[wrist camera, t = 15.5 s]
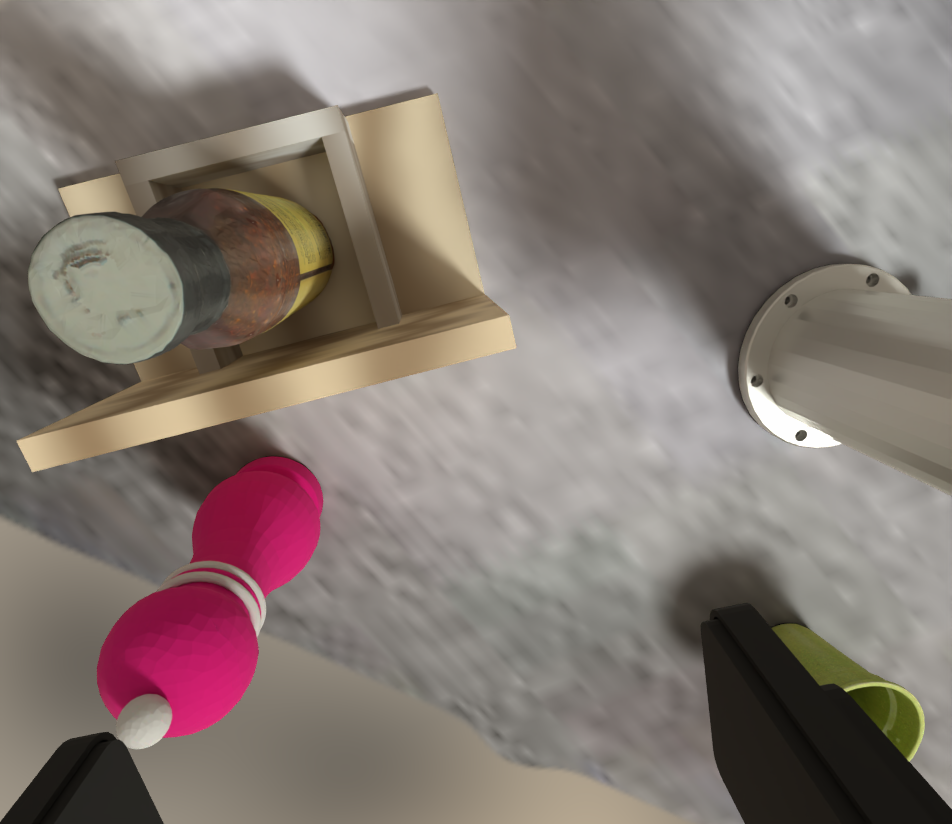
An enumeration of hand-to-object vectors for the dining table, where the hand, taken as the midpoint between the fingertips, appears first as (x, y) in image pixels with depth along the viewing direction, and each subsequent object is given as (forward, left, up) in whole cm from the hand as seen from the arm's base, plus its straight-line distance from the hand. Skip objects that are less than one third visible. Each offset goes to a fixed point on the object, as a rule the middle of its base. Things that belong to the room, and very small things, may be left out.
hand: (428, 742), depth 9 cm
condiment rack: (+6, -9, -30) cm, 31 cm away
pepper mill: (+12, +6, -30) cm, 33 cm away
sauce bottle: (+6, -9, -29) cm, 31 cm away
